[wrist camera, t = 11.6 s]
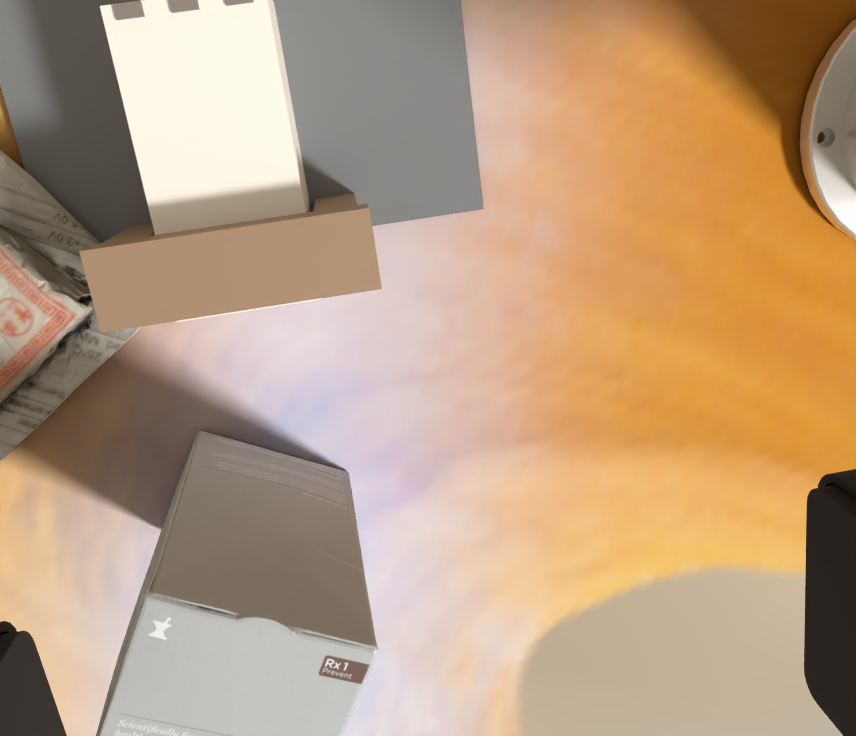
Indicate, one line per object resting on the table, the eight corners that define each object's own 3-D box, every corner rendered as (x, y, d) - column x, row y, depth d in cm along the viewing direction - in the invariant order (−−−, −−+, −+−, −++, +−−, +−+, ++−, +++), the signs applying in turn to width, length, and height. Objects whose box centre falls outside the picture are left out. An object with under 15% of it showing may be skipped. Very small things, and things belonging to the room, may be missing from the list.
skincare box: (163, 532, 42) (67, 769, 27) (204, 410, 40) (126, 590, 25) (319, 576, 43) (311, 821, 28) (364, 460, 42) (382, 656, 27)
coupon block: (332, -6, 34) (331, -32, 28) (375, 268, 38) (383, 298, 32) (72, 28, 34) (12, 9, 28) (142, 304, 38) (104, 342, 31)
